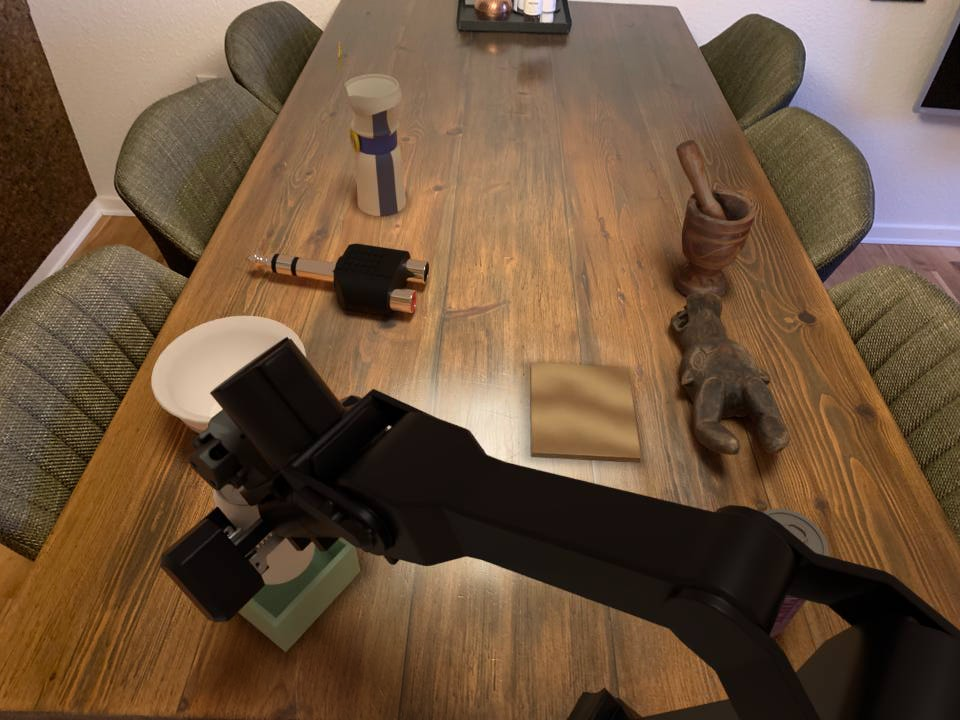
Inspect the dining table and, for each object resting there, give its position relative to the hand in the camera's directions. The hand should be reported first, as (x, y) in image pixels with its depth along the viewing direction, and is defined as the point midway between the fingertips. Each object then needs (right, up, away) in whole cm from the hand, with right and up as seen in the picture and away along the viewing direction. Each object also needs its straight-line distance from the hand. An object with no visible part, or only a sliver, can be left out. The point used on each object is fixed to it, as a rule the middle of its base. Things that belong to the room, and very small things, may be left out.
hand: (253, 504), depth 59 cm
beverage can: (+44, -11, +7) cm, 46 cm away
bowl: (-8, +6, +22) cm, 24 cm away
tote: (+1, -9, +8) cm, 12 cm away
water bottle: (+3, +37, +54) cm, 65 cm away
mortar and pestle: (+48, +23, +42) cm, 68 cm away
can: (+1, -5, +4) cm, 7 cm away
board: (+31, +6, +24) cm, 40 cm away
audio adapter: (-1, +22, +39) cm, 45 cm away
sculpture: (+48, +8, +27) cm, 55 cm away
